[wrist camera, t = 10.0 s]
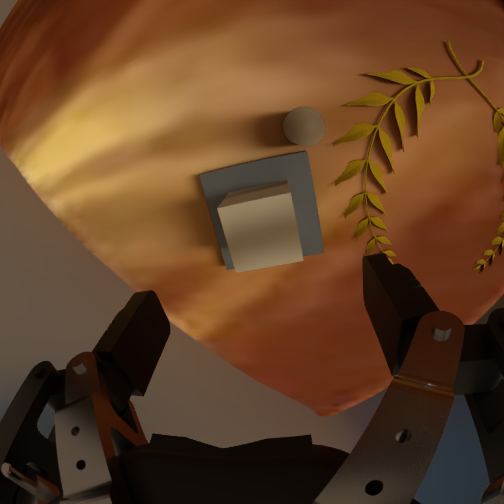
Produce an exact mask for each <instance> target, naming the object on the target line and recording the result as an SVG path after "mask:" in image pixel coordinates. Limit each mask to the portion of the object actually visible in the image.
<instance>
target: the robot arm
mask: <svg viewBox="0 0 504 504" xmlns="http://www.w3.org/2000/svg"><path fill="white" fill-rule="evenodd" d="M363 297H364V303H365V307H366V310H367V312H368V315H369V317H370V320H371V322H372V325H373V327H374V330H375V332H376V335H377V337H378V340H379V342H380V345H381V348H382V350H383V353H384V356H385V358H386V361H387V364H388V367H389V369H390V372H391V375H392V376H393V375H397V374H398V375H397V377H396V376H395V377H394V378H393V379H392V381H391V383H390V385H389V387H388V389H387V391H386V393H385V395H384V397H383V399H382V401H381V403H380V405H379V406H378V408H377V410H376V412H375V414H374V415H373V417H372V419H371V421H370V423H369V424H368V426H367V428H366V429H365V431H364V433H363V434H362V436H361V438H360V439H359V441H358V442H357V444H356V445H355V447H354V449H353V450H352V451H351V453H350V454H349V453H347V452H345V451H342V450H339V449H336V448H332V447H328V446H323V445H314V444H312V438H311V435H304V436H294V437H282V438H269V439H264V440H260V441H256V442H252V443H248V444H243V445H239V446H234V447H229V448H219V447H215V446H212V445H208V444H205V443H202V442H199V441H196V440H193V439H189V438H186V437H178V436H169V435H161V434H152V438H151V440H150V443H148V441H147V439H146V437H145V435H144V432H143V430H142V427H141V425H140V422H139V420H138V416H137V414H136V411H135V408H134V405H133V403H132V402H131V401H130V400H129V399H130V397H131V395H135V396H144V394H145V392H146V389H147V387H148V385H149V382H150V380H151V377H152V375H153V372H154V370H155V368H156V365H157V363H158V360H159V358H160V356H161V353H162V351H163V349H164V347H165V344H166V342H167V340H168V337H169V335H170V323H169V320H168V318H167V316H166V314H165V312H164V310H163V307H162V305H161V303H160V301H159V299H158V297H157V295H156V293H155V292H154V291H152V290H149V291H142V292H136V293H134V294H133V296H132V297H131V299H130V300H129V301H128V303H127V304H126V306H125V307H124V308H123V309H122V310H121V311H120V312H119V313H118V314H117V315H116V316H115V318H114V320H113V321H112V323H111V324H110V325H109V327H108V330H106V331H105V333H104V334H103V336H102V337H101V339H100V340H99V342H98V343H97V345H96V346H95V348H94V349H93V351H92V352H83V353H80V354H78V355H76V356H75V357H74V358H72V359H71V360H70V362H69V363H68V364H67V366H66V369H63V370H58V371H57V370H56V369H55V368H54V366H53V365H52V364H51V362H49V361H43V362H40V363H39V364H37V365H36V366H35V367H34V368H33V369H32V370H31V371H30V373H29V374H28V376H27V378H26V379H25V381H24V382H23V384H22V386H21V387H20V389H19V391H18V392H17V394H16V395H15V397H14V399H13V401H12V402H11V404H10V406H9V407H8V409H7V411H6V413H5V415H4V417H3V418H2V420H1V422H0V504H421V503H419V502H418V501H416V500H415V499H413V497H414V495H415V494H416V492H417V490H418V488H419V486H420V484H421V482H422V480H423V478H424V476H425V474H426V472H427V470H428V468H429V466H430V464H431V461H432V459H433V457H434V454H435V452H436V450H437V447H438V445H439V442H440V439H441V437H442V434H443V432H444V429H445V426H446V423H447V420H448V417H449V414H450V411H451V408H452V404H453V401H454V396H455V395H463V394H464V395H465V398H466V401H467V404H468V406H469V409H470V412H471V415H472V418H473V421H474V424H475V427H476V430H477V433H478V437H479V440H480V444H481V447H482V450H483V455H484V459H485V463H486V467H487V471H488V476H489V480H490V484H489V485H488V487H487V488H486V489H485V491H484V493H483V495H482V497H481V500H480V504H504V380H503V377H504V308H499V309H496V310H494V311H493V312H492V313H491V314H490V316H489V318H488V321H487V324H477V325H464V324H463V322H462V321H461V320H460V319H459V318H458V317H457V316H456V315H454V314H452V313H450V312H446V311H440V310H439V309H438V307H437V306H436V305H435V303H434V302H433V300H432V299H431V298H430V296H429V295H428V293H427V292H426V291H425V289H424V288H423V287H421V284H420V283H419V281H418V280H416V277H415V276H414V275H413V273H412V272H411V271H410V270H409V269H408V268H406V267H404V266H402V265H401V264H399V263H398V264H393V265H392V263H391V262H390V261H389V259H388V258H387V257H386V255H385V254H384V253H378V254H373V255H368V256H364V257H363ZM46 404H48V405H49V406H50V407H51V408H52V409H53V410H54V411H55V414H54V415H55V424H54V426H53V428H52V431H51V433H50V435H49V437H48V439H46V438H45V437H44V436H43V435H42V434H41V433H40V432H39V431H38V428H37V421H38V419H39V417H40V415H41V413H42V411H43V409H44V407H45V405H46ZM27 463H28V465H26V464H27Z"/></svg>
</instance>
